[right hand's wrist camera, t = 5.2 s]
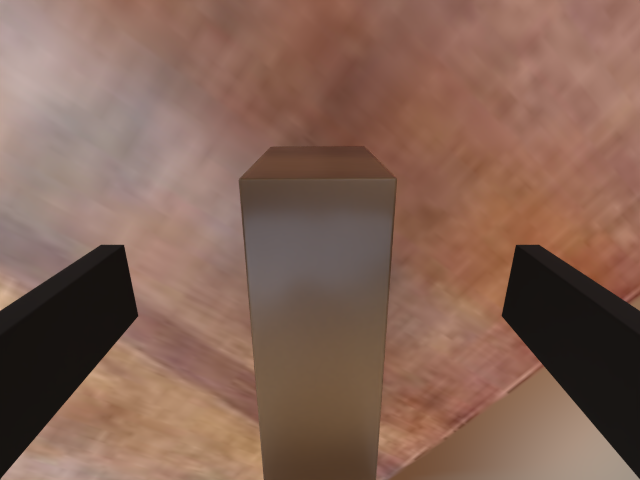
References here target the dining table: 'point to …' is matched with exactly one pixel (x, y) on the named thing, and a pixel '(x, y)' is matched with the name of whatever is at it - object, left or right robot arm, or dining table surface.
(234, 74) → the dining table surface
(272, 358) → the bar
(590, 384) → the right robot arm
